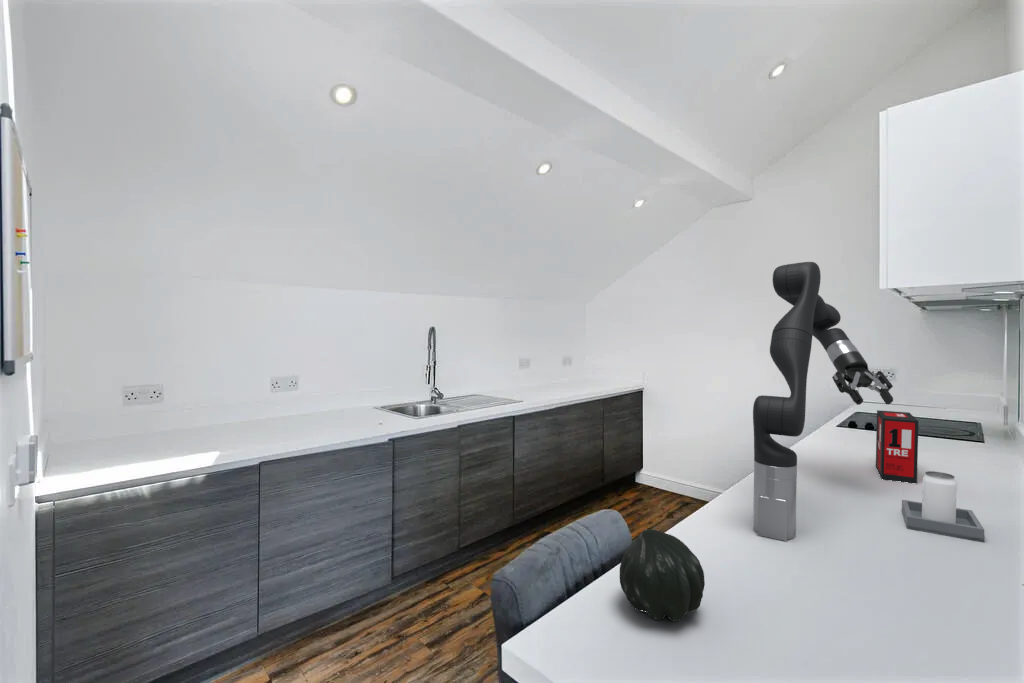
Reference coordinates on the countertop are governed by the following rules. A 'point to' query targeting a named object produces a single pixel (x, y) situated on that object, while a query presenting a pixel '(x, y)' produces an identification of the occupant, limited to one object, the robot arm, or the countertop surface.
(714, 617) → the countertop surface
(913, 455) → the cleaning product box
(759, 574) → the countertop surface
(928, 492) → the can
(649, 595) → the squash
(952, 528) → the tray
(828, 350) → the robot arm
